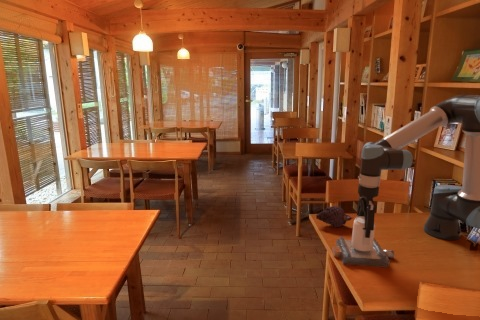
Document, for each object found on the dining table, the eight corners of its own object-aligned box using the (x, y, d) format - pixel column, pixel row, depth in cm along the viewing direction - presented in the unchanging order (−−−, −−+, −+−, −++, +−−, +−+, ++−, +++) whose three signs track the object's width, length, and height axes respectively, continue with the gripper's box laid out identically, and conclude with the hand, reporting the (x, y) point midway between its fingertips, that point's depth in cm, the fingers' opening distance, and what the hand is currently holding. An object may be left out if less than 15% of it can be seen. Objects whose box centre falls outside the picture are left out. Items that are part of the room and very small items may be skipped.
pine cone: (317, 229, 159) (318, 209, 157) (313, 221, 169) (314, 202, 166) (354, 230, 159) (356, 211, 156) (348, 222, 168) (350, 203, 166)
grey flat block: (386, 248, 142) (387, 238, 141) (399, 267, 128) (400, 257, 127) (330, 245, 144) (330, 235, 143) (336, 263, 130) (337, 253, 129)
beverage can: (373, 253, 131) (377, 225, 128) (352, 251, 132) (355, 223, 129) (370, 244, 138) (373, 216, 136) (350, 241, 140) (352, 215, 137)
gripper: (352, 176, 140) (347, 227, 145) (366, 193, 119) (359, 251, 125) (371, 177, 139) (365, 228, 144) (388, 194, 119) (380, 252, 124)
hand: (362, 239), depth 134 cm, fingers closed on beverage can, 8 cm apart
